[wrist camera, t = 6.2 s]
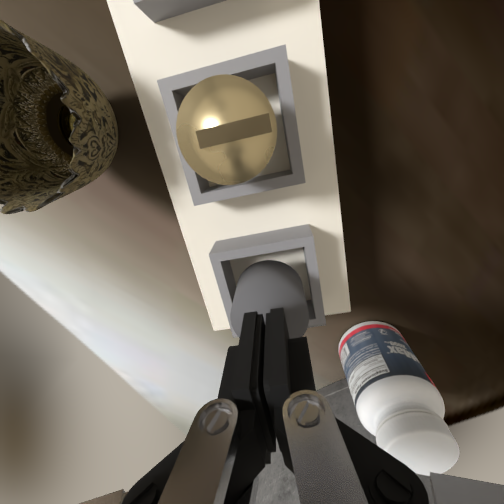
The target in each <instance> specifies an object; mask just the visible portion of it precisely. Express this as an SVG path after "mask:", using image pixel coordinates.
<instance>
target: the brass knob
mask: <svg viewBox="0 0 504 504" xmlns="http://www.w3.org/2000/svg"><path fill="white" fill-rule="evenodd" d="M176 134H177V141H178V145H179V148H180V151H181V153H182V155H183V157H184V159H185V160H186V162H187V163H188V165H189V166H190V167H191V168H192V169H193V170H194V171H195V172H196V173H197V174H198V175H200V176H201V177H202V178H204V179H206V180H208V181H210V182H213V183H216V184H221V185H236V184H240V183H244V182H246V181H248V180H250V179H252V178H254V177H255V176H256V175H258V174H259V173H260V172H261V171H262V170H263V169H264V168H265V167H266V165H267V164H268V162H269V161H270V159H271V157H272V155H273V152H274V149H275V145H276V140H277V123H276V118H275V114H274V111H273V108H272V106H271V104H270V102H269V100H268V99H267V97H266V96H265V94H264V93H263V92H262V91H261V90H260V89H259V88H258V87H257V86H256V85H254V84H253V83H251V82H250V81H248V80H246V79H244V78H242V77H239V76H235V75H228V74H222V75H215V76H211V77H208V78H206V79H204V80H202V81H200V82H199V83H198V84H196V85H195V86H194V87H193V88H192V89H191V90H190V91H189V92H188V93H187V95H186V96H185V98H184V99H183V101H182V103H181V106H180V108H179V111H178V115H177V121H176Z"/></svg>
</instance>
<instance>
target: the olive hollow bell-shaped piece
mask: <svg viewBox="0 0 504 504" xmlns="http://www.w3.org/2000/svg"><path fill="white" fill-rule="evenodd" d="M117 145H118V126H117V121H116V118H115V114H114V112H113V109H112V107H111V105H110V103H109V101H108V100H107V98H106V96H105V95H104V93H103V92H102V90H101V89H100V88H99V86H98V85H97V84H96V83H95V82H94V81H93V80H92V79H91V78H90V77H89V76H88V75H87V74H86V73H85V72H83V71H82V70H81V69H80V68H78V67H77V66H76V65H74V64H73V63H71V62H70V61H68V60H67V59H65V58H64V57H62V56H60V55H59V54H57V53H56V52H54V51H52V50H51V49H49V48H47V47H45V46H44V45H42V44H40V43H39V42H37V41H35V40H33V39H32V38H30V37H28V36H26V35H24V34H23V33H21V32H19V31H17V30H16V29H14V28H12V27H11V26H9V25H8V24H6V23H5V22H3V21H2V20H0V204H4V206H3V207H2V208H1V209H0V212H1V213H3V214H12V213H17V212H21V211H23V210H25V211H26V212H32V211H36V210H38V209H40V208H42V207H44V206H45V205H47V204H49V203H51V202H53V201H55V200H57V199H59V198H61V197H64V196H66V195H68V194H70V193H72V192H74V191H76V190H78V189H80V188H82V187H84V186H85V185H87V184H89V183H90V182H92V181H94V180H95V179H96V178H98V177H99V176H100V175H101V174H102V173H103V172H104V171H105V170H106V169H107V168H108V167H109V165H110V164H111V162H112V160H113V158H114V156H115V153H116V150H117Z"/></svg>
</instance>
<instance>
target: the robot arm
mask: <svg viewBox="0 0 504 504" xmlns="http://www.w3.org/2000/svg"><path fill="white" fill-rule="evenodd" d="M276 438H277V442H278V445H279V449H280V452H282V456H283V460H284V464H285V466H286V467H287V468H288V469H289V470H290V471H291V472H292V473H293V474H294V475H295V479H296V484H297V489H298V494H299V499H300V504H504V485H500V484H494V483H489V482H483V481H478V480H472V479H467V478H461V477H455V476H450V475H444V474H439V473H433V472H430V476H426V475H421V474H416V473H415V472H414V471H412V470H411V469H410V468H409V467H408V466H406V465H405V464H404V463H402V462H401V461H399V460H398V459H396V458H395V457H393V456H392V455H390V454H389V453H387V452H386V451H384V450H383V449H381V448H380V447H379V446H377V445H376V444H374V443H373V442H371V441H370V440H368V439H367V438H365V437H364V436H362V435H361V434H359V433H358V432H356V431H355V430H354V429H352V428H351V427H349V426H348V425H346V424H345V423H343V422H342V421H340V420H339V419H337V418H336V417H334V415H333V412H332V409H331V407H330V404H329V403H328V401H327V399H326V398H325V397H324V396H323V395H321V394H320V393H318V392H316V389H315V383H314V378H313V372H312V366H311V360H310V354H309V349H308V343H307V338H306V337H300V338H292V339H290V337H289V332H288V327H287V322H286V318H285V313H284V308H283V307H282V308H275V309H270V313H266V322H265V321H264V317H263V314H258V312H257V311H254V312H248V313H244V316H243V322H242V328H241V334H240V340H239V345H238V346H230V347H229V348H228V352H227V357H226V361H225V366H224V371H223V376H222V380H221V385H220V390H219V394H218V399H215V400H212V401H210V402H208V403H207V404H205V405H204V406H203V407H202V408H201V409H200V410H199V411H198V413H197V414H196V416H195V418H194V420H193V423H192V425H191V427H190V430H189V432H188V434H187V437H186V439H185V441H184V442H182V443H181V444H180V445H179V446H178V447H177V448H176V449H174V450H173V451H172V452H171V453H170V454H169V455H167V456H166V457H165V458H164V459H163V460H162V461H161V462H159V463H158V464H157V465H156V466H155V467H154V468H152V469H151V470H150V471H149V472H148V473H147V474H146V475H145V476H143V477H142V478H141V479H140V480H139V481H138V482H137V483H136V484H135V485H134V486H133V487H132V488H131V489H130V490H129V492H126V493H125V491H124V490H123V489H122V490H119V491H116V492H113V493H110V494H107V495H104V496H101V497H98V498H95V499H92V500H89V501H86V502H83V503H80V504H255V503H256V497H257V491H258V485H259V476H258V474H259V473H260V472H261V471H262V470H263V469H264V468H265V464H271V453H272V452H276Z"/></svg>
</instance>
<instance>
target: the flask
mask: <svg viewBox="0 0 504 504" xmlns="http://www.w3.org/2000/svg"><path fill="white" fill-rule="evenodd" d="M316 392H318V393H320V394H321V395H323V396H324V397H325V398H326V399H327V401H328V403H329V404H330V407H331V409H332V412H333V415H334V417H336V418H337V419H339V420H340V421H342V422H343V423H345V424H346V425H348V426H349V427H351V428H352V429H354V430H355V431H356V432H358V433H359V434H361V435H362V436H364V437H365V438H367V439H368V440H370V441H371V442H373V443H374V444H376V445H377V443H376V436H374V435H373V434H371V433H370V432H369V431H368V430H366V429H365V427H364V426H363V425H362V423H361V421H360V419H359V417H358V414H357V412H356V408H355V405H354V402H353V398H352V395H351V392H350V389H349V385H348V382H347V379H346V378H345V379H342V380H340V381H337V382H335V383H332V384H330V385H328V386H325V387H323V388H321V389H319V390H317V391H316ZM258 476H259V485H258V491H257V497H256V503H255V504H300V499H299V494H298V489H297V484H296V479H295V475H294V474H293V473H292V472H291V471H290V470H289V469H288V468H287V467H286V466H285V464H284V460H283V456H282V452H280V449H279V445H278V442H277V438H276V452H272V453H271V464H265V468H264V469H263V470H262V471H261V472H260V473H259V474H258Z"/></svg>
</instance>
